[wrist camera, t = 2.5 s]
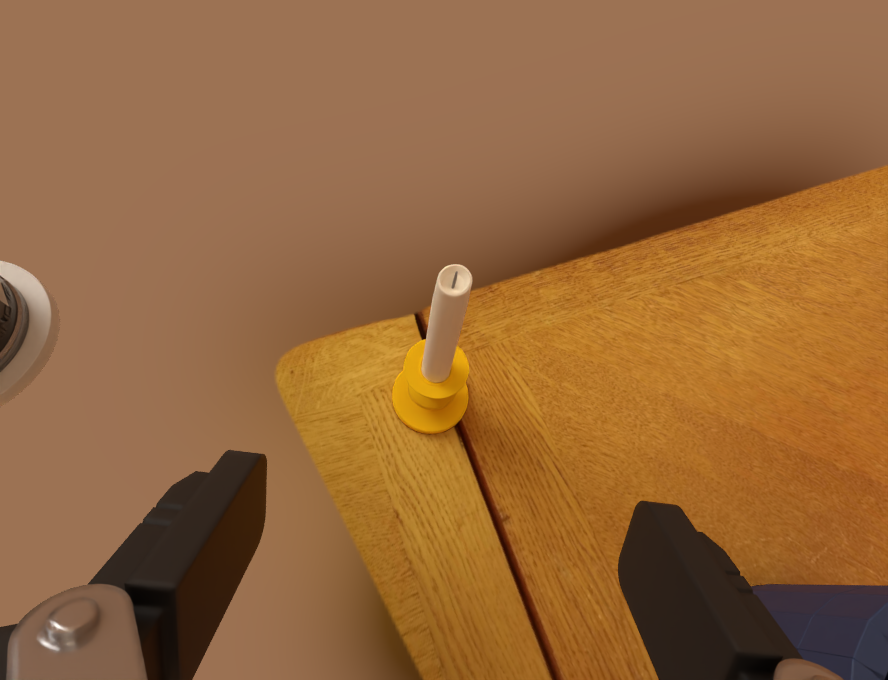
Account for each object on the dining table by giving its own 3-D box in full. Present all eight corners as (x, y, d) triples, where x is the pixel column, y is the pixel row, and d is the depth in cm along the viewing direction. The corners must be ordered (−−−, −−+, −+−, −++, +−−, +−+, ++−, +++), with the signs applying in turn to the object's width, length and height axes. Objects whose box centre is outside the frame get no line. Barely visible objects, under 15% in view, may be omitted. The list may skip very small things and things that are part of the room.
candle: (438, 450, 33) (472, 353, 19) (376, 403, 34) (365, 278, 20) (482, 390, 35) (543, 264, 21) (422, 348, 36) (443, 200, 22)
